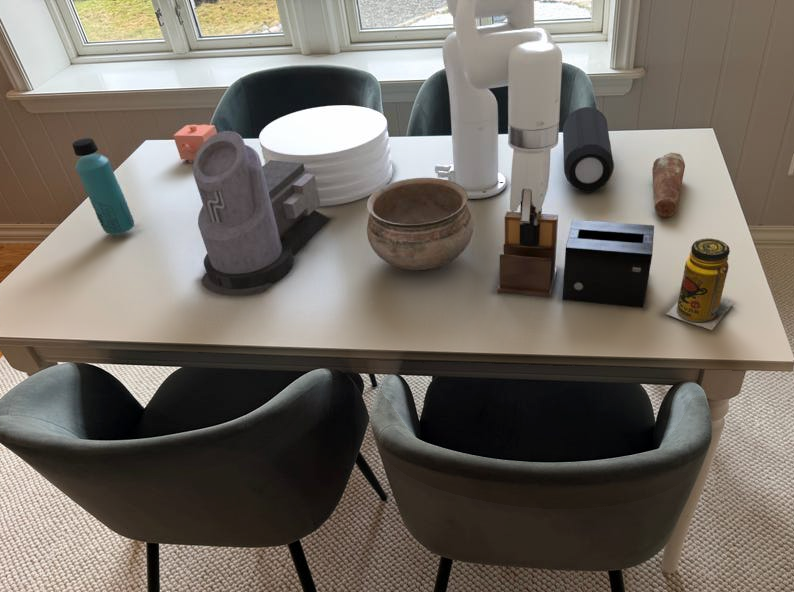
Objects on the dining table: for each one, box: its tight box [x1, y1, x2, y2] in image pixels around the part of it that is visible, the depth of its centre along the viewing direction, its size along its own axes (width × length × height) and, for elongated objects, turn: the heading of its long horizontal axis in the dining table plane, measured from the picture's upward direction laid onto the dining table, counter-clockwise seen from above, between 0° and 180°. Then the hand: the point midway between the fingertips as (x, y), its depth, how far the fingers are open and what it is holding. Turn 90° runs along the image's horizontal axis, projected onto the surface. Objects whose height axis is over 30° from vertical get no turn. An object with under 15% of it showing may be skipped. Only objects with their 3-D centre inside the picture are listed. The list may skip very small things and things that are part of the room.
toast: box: [504, 211, 559, 277], centre depth 112 cm, size 8×2×11 cm, turn 74°
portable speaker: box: [562, 106, 615, 193], centre depth 144 cm, size 26×10×10 cm, turn 172°
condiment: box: [666, 237, 734, 331], centre depth 102 cm, size 7×8×12 cm
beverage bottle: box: [71, 137, 135, 235], centre depth 133 cm, size 6×7×20 cm
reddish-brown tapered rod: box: [651, 152, 686, 218], centre depth 133 cm, size 6×19×6 cm, turn 161°
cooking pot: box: [366, 177, 474, 271], centre depth 119 cm, size 25×19×12 cm
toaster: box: [561, 219, 655, 309], centre depth 109 cm, size 13×10×10 cm
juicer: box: [192, 130, 331, 297], centre depth 122 cm, size 30×16×24 cm, turn 158°
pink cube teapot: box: [172, 124, 218, 163], centre depth 165 cm, size 8×12×8 cm, turn 168°
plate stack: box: [258, 104, 394, 207], centre depth 150 cm, size 28×28×12 cm
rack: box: [496, 243, 558, 298], centre depth 113 cm, size 9×8×7 cm
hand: (530, 240), depth 112 cm, fingers closed on toast, 2 cm apart
